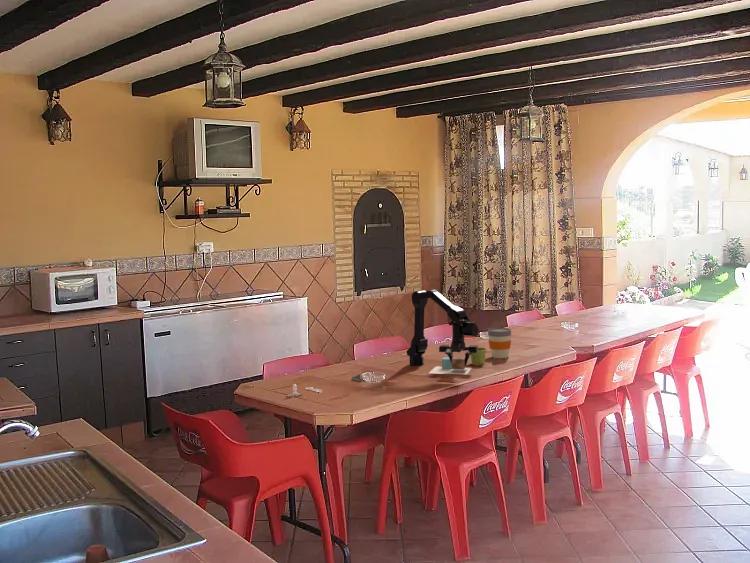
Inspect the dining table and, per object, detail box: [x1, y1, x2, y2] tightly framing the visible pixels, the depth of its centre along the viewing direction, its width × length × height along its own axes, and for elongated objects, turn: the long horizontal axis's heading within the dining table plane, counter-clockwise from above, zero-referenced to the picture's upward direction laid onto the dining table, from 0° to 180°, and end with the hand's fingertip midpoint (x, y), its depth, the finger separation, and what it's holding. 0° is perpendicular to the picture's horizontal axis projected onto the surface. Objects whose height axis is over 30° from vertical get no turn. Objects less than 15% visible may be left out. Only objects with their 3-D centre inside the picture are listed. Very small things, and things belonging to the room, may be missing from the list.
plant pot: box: [470, 346, 488, 366], centre depth 393 cm, size 9×9×9 cm
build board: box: [428, 365, 473, 376], centre depth 379 cm, size 19×16×1 cm
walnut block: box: [452, 356, 467, 369], centre depth 377 cm, size 6×6×5 cm
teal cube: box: [441, 356, 452, 369], centre depth 385 cm, size 5×5×5 cm
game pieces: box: [285, 373, 364, 399], centre depth 357 cm, size 45×13×6 cm, turn 131°
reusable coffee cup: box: [487, 327, 512, 359], centre depth 412 cm, size 13×13×15 cm
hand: (459, 365), depth 377 cm, fingers closed on walnut block, 6 cm apart
